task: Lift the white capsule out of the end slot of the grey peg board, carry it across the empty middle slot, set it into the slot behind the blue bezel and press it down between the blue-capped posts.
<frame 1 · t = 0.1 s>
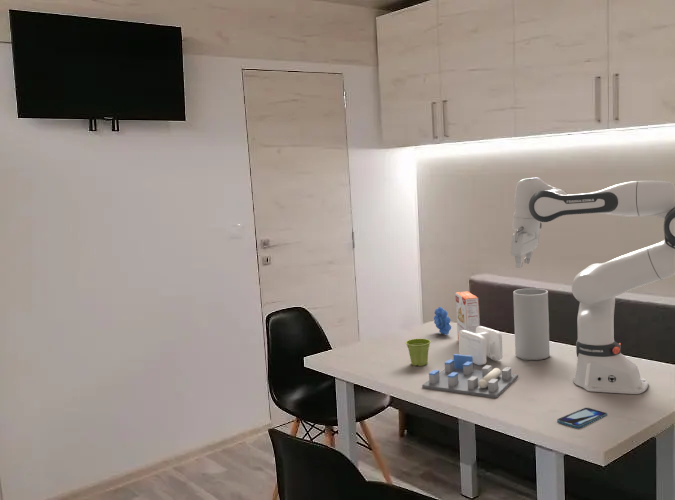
hand: (523, 265, 228), 39 cm above the table, tool pointing down, fingers open, 8 cm apart
grapes: (441, 334, 294), on the table
grey peg board: (470, 382, 229), on the table
plant pot: (419, 364, 254), on the table
cylinder vase: (532, 356, 254), on the table
white capsule: (490, 378, 225), point 2 cm above the table, touching grey peg board
cracker box: (468, 344, 277), on the table
cable organizer: (480, 361, 253), on the table
smartphone: (582, 420, 193), on the table
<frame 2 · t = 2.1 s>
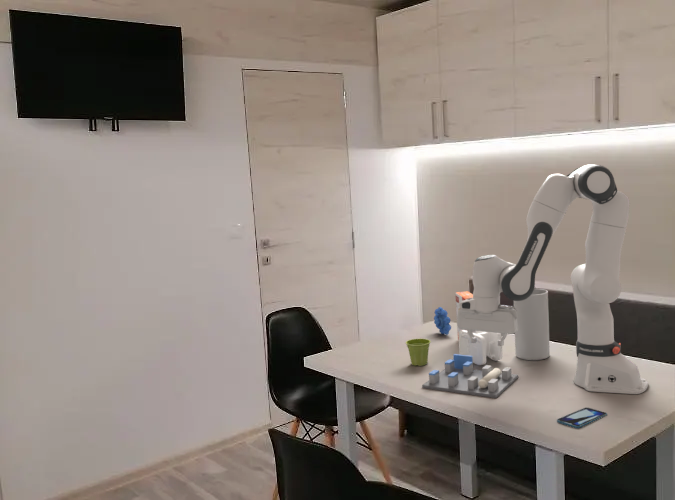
hand: (487, 344, 223), 14 cm above the table, tool pointing down, fingers open, 8 cm apart
nothing on the table moved.
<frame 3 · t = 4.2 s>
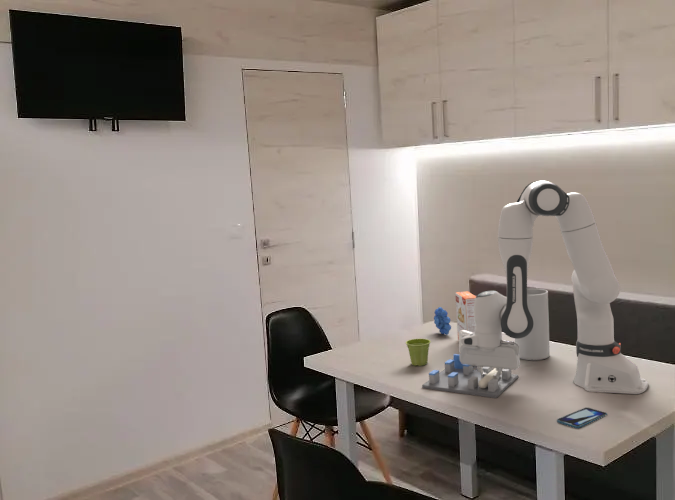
hand: (490, 379, 225), 2 cm above the table, tool pointing down, fingers closed on white capsule, 3 cm apart
white capsule: (490, 378, 225), point 2 cm above the table, touching grey peg board, gripper
everything else where it was.
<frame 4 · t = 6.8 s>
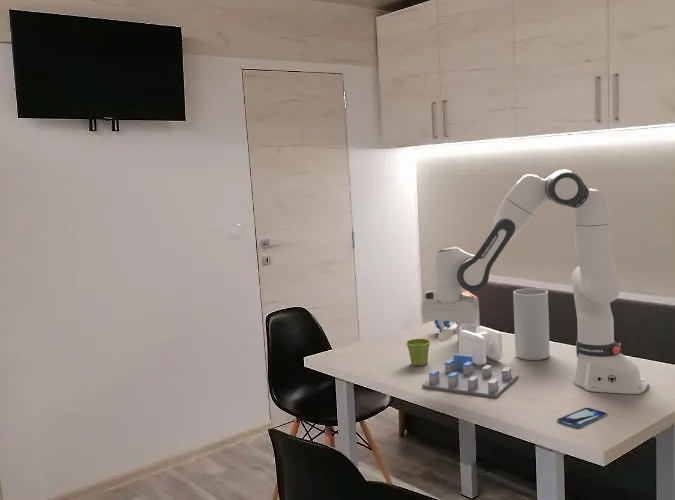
hand: (450, 333, 230), 17 cm above the table, tool pointing down, fingers closed on white capsule, 3 cm apart
white capsule: (450, 332, 230), point 17 cm above the table, touching gripper
everything else where it was.
when the fingers open (4 cm above the table, at t = 9.3 s): white capsule drops 2 cm, resting on grey peg board.
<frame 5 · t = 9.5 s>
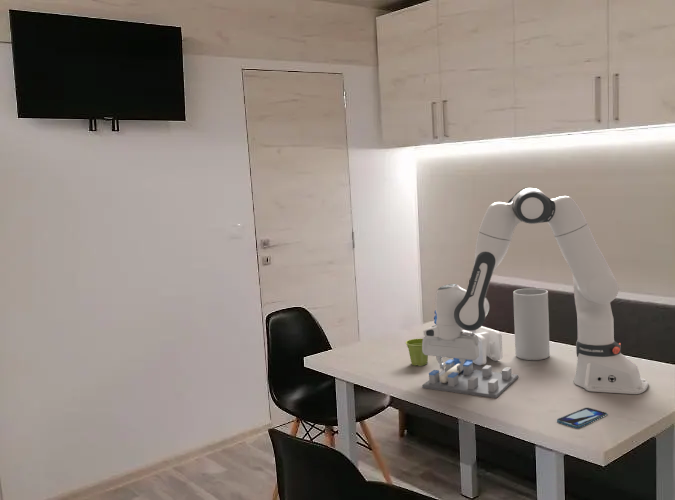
hand: (451, 369, 232), 4 cm above the table, tool pointing down, fingers open, 5 cm apart
white capsule: (451, 373, 233), point 2 cm above the table, touching grey peg board
everything else where it was.
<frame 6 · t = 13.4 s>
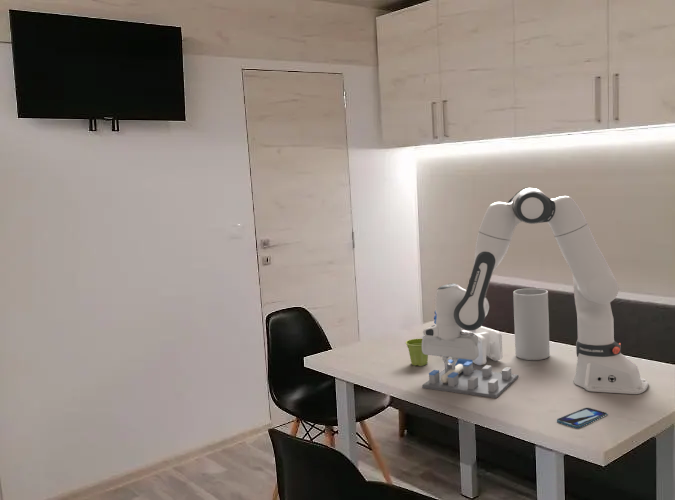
hand: (450, 369, 232), 4 cm above the table, tool pointing down, fingers closed
white capsule: (452, 373, 232), point 2 cm above the table, tilted 17°, touching grey peg board, gripper
everything else where it was.
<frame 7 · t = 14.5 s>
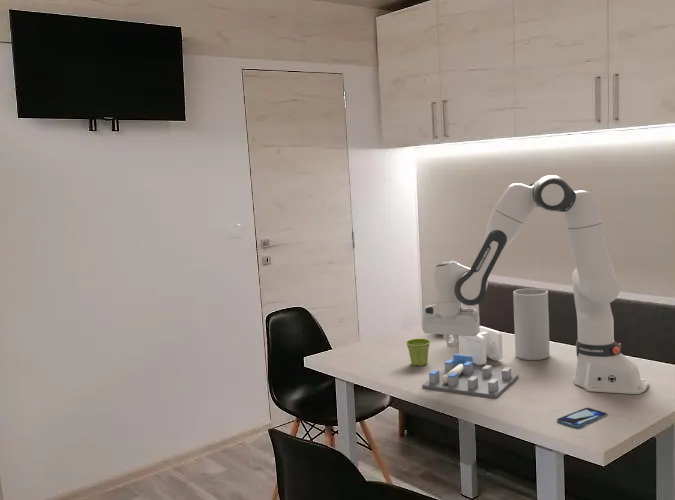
hand: (451, 346, 231), 12 cm above the table, tool pointing down, fingers closed
white capsule: (453, 373, 232), point 2 cm above the table, tilted 35°, touching grey peg board
everything else where it was.
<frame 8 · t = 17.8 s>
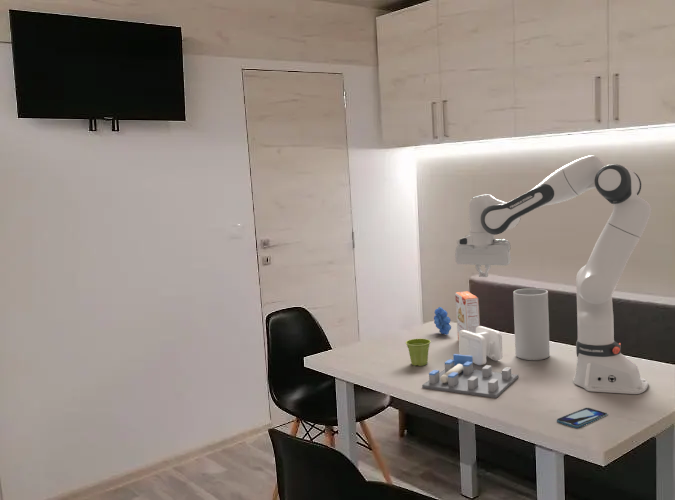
hand: (483, 276, 243), 33 cm above the table, tool pointing down, fingers closed
white capsule: (452, 373, 232), point 2 cm above the table, tilted 12°, touching grey peg board
everything else where it was.
at the end: white capsule 0.4 cm from the target spot on the grey peg board, point 2.5 cm above the grey peg board's base; white capsule moved 13.6 cm from its start; the gripper is holding nothing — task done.
